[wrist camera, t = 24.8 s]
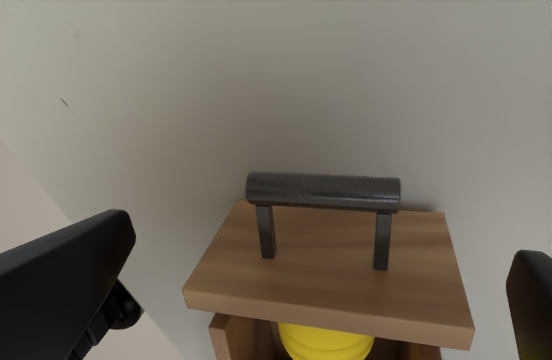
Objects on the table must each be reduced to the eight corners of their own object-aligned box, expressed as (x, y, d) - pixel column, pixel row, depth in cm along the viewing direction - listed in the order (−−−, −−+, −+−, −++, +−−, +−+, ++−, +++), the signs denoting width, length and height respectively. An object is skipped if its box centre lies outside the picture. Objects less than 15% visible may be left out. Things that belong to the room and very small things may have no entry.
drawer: (227, 131, 19) (156, 204, 13) (457, 134, 17) (503, 230, 10) (260, 345, 28) (227, 450, 22) (416, 372, 25) (428, 501, 19)
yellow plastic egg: (375, 322, 22) (371, 408, 18) (292, 309, 23) (270, 386, 19) (380, 240, 19) (378, 319, 15) (286, 231, 20) (258, 300, 16)
